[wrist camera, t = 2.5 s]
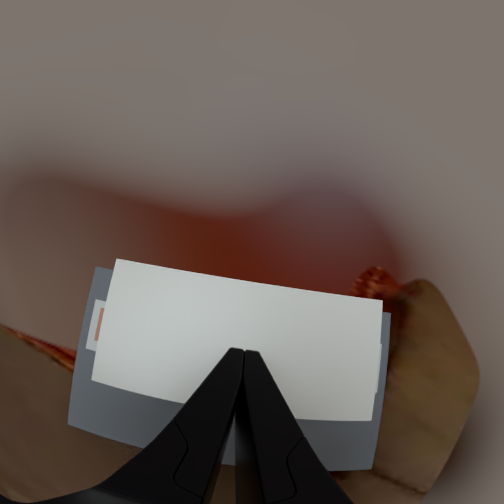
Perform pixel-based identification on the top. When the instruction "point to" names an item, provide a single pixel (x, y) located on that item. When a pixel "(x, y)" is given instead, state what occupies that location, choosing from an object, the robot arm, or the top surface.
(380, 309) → the block
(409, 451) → the top surface
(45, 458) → the top surface
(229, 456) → the plate
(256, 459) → the robot arm
